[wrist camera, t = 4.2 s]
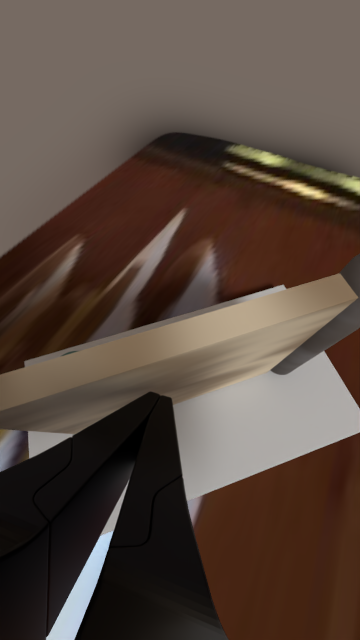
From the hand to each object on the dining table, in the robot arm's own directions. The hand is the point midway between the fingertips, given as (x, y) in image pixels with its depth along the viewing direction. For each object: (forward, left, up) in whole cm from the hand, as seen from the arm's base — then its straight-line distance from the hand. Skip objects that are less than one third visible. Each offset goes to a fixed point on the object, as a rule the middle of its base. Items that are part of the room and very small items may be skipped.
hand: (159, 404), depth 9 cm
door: (+3, -2, -7) cm, 8 cm away
